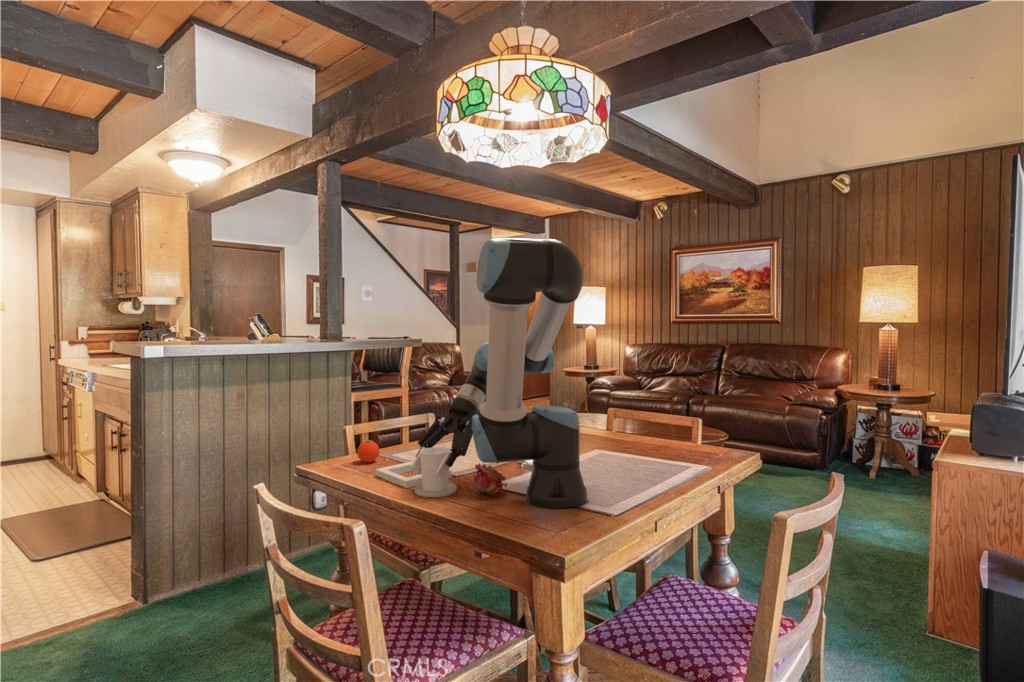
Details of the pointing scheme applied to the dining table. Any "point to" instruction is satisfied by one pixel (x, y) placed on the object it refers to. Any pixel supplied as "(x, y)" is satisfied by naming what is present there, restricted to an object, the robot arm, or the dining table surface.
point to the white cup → (433, 468)
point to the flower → (488, 479)
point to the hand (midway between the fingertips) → (426, 473)
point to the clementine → (368, 451)
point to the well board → (393, 475)
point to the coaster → (446, 492)
